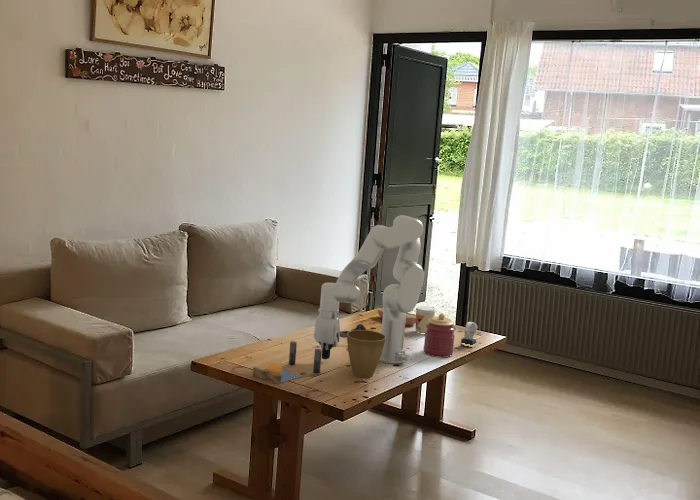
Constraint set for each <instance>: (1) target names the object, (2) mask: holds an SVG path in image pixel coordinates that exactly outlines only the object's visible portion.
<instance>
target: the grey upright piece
mask: <svg viewBox="0 0 700 500" xmlns="http://www.w3.org/2000/svg"><path fill="white" fill-rule="evenodd" d="M477 330H478V325H477V324H476V322H474V321H467V322H466V324H465V326H464V334H463V335H464V337H461V341H460V344H461V343H465V344H470V345H473V344H475V343H476V344H477V338H474V336H475V334H476V332H477Z"/></svg>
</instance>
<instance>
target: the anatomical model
mask: <svg viewBox="0 0 700 500" xmlns="http://www.w3.org/2000/svg"><path fill="white" fill-rule="evenodd" d="M377 312H378V316H379V317H380V318H381V319H383V307H379V308H378V309H377ZM408 325H410V326H414V325H416V313H411V312H408V313H406V323H405V326H408Z"/></svg>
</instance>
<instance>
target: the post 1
mask: <svg viewBox="0 0 700 500" xmlns="http://www.w3.org/2000/svg"><path fill="white" fill-rule="evenodd" d="M297 344H298V343H297V341H295V340H294V341H293V340H292V341H290V342H289V352H288V353H289V355H288V365H289V366H295V365H296V363H297V362H296V358H297Z"/></svg>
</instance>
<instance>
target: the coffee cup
mask: <svg viewBox="0 0 700 500" xmlns="http://www.w3.org/2000/svg"><path fill="white" fill-rule="evenodd" d="M435 314H436V309H435V308H434V307H432V306H426V305H425V306H424V305H419V306H417V307H415V315H416V323H415V333H416V332H419V333H425V332H426V329H427V328H426V324H428V323H429V322H428V320H429V319H431V318H432V317H436V316H435Z"/></svg>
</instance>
